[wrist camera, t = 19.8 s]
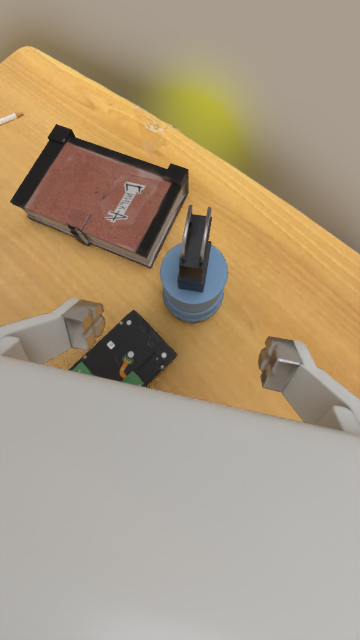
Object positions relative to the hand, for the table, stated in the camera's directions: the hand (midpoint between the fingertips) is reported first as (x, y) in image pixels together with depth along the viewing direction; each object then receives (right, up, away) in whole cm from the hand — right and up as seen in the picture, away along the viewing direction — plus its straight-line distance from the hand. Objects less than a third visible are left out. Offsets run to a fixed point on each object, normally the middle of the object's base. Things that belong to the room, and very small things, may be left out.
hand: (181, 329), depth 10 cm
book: (-14, +22, +30) cm, 40 cm away
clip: (+2, +6, +15) cm, 16 cm away
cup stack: (+2, +4, +26) cm, 26 cm away
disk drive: (-9, -7, +24) cm, 27 cm away
